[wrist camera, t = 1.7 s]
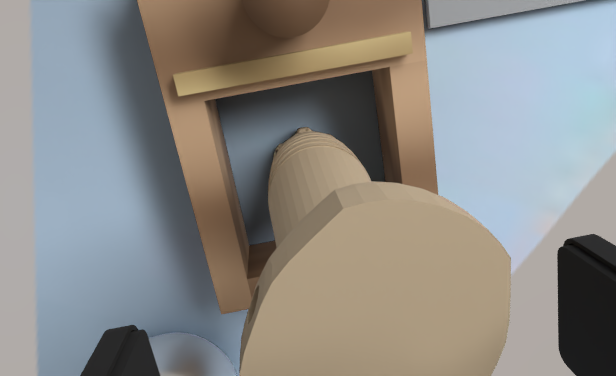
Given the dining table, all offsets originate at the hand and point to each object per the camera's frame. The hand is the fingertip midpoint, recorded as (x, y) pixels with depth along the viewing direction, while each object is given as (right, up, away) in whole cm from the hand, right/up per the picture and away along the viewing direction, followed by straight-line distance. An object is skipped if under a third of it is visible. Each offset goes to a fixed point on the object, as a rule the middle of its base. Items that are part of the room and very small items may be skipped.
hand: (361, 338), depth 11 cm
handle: (-1, +5, +13) cm, 14 cm away
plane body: (-2, +7, +12) cm, 14 cm away
